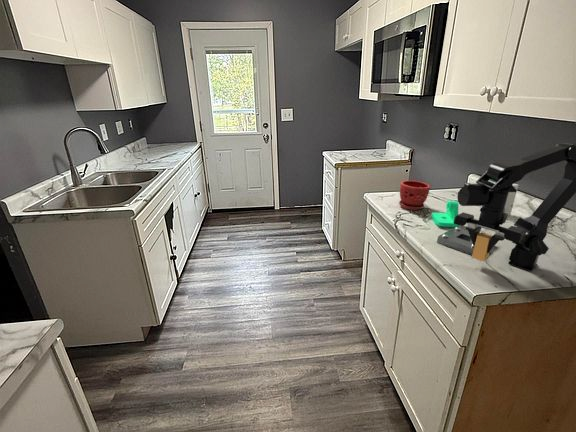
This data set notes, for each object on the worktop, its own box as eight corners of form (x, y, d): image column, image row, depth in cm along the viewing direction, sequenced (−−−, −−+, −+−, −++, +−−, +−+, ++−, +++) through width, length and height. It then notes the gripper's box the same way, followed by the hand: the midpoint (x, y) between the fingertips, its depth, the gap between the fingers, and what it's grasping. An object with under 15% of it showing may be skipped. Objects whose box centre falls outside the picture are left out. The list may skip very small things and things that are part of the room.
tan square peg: (487, 258, 101) (493, 235, 98) (483, 261, 99) (489, 238, 96) (476, 254, 104) (481, 232, 101) (471, 257, 102) (477, 235, 99)
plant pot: (417, 213, 146) (421, 189, 141) (392, 206, 155) (395, 183, 151) (431, 207, 153) (435, 184, 149) (407, 200, 163) (410, 178, 158)
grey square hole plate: (491, 244, 117) (494, 237, 116) (476, 256, 109) (478, 248, 107) (453, 232, 127) (455, 225, 126) (436, 242, 119) (438, 234, 117)
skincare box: (499, 218, 141) (508, 186, 135) (486, 214, 146) (494, 183, 140) (510, 215, 144) (519, 184, 139) (497, 211, 149) (506, 180, 144)
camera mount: (430, 217, 142) (434, 196, 138) (448, 218, 141) (452, 197, 137) (437, 228, 131) (442, 205, 127) (457, 229, 130) (462, 206, 126)
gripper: (538, 207, 93) (523, 254, 99) (472, 192, 106) (462, 234, 112) (526, 216, 86) (511, 265, 92) (457, 199, 100) (448, 243, 106)
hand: (481, 250), depth 101 cm, fingers closed on tan square peg, 3 cm apart
